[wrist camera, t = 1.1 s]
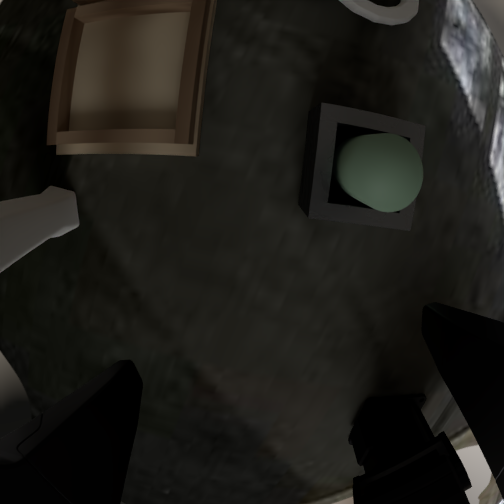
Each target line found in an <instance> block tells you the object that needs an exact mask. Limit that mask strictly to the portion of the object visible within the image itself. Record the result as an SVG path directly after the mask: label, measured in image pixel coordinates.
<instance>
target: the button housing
mask: <svg viewBox="0 0 504 504" xmlns="http://www.w3.org/2000/svg"><path fill="white" fill-rule="evenodd" d="M425 127H426V126H424V125H421V124H417V123H413V122H410V121H406V120H402V119H398V118H394V117H390V116H386V115H382V114H378V113H373V112H369V111H364V110H359V109H355V108H350V107H344V106H339V105H334V104H328V103H320V104H319V105H317V106H316V107H314V108H313V109H311V110H310V111H309V115H308V125H307V135H306V144H305V153H304V162H303V171H302V179H301V187H300V195H299V203H298V205H299V206H300V208H301V209H302V210H303V212H304V213H305V214H306V216H307V217H308V218H312V219H321V220H329V221H337V222H346V223H354V224H361V225H369V226H377V227H384V228H391V229H399V230H406V231H410V230H411V225H412V220H413V215H414V209H415V204H416V198H417V196H416V198H415V199H414V200H413V202H411V203H410V204H409V205H408V206H407V207H405V208H403V209H401V210H399V211H395V212H382V211H378V210H376V209H373V208H372V207H370V206H368V205H366V204H364V203H362V202H361V201H359V200H357V199H355V198H351V197H344V196H336V195H329V189H330V181H331V174H332V166H333V157H334V149H335V140H336V130H341V131H347V132H352V133H358V134H363V135H370V134H381V133H391V134H396V135H399V136H401V137H403V138H405V139H406V140H408V141H409V142H410V143H411V144H412V145H413V146H414V147H415V149H416V150H417V152H418V154H419V156H420V158H421V161H422V156H423V147H424V138H425Z"/></svg>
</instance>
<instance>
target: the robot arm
mask: <svg viewBox="0 0 504 504" xmlns="http://www.w3.org/2000/svg"><path fill="white" fill-rule="evenodd" d="M422 335H423V337H424V339H425V341H426V344H427V346H428V348H429V350H430V352H431V355H432V357H433V359H434V361H435V364H436V366H437V368H438V370H439V372H440V374H441V376H442V378H443V380H444V381H445V383H446V385H447V387H448V388H449V390H450V392H451V394H452V395H453V397H454V399H455V401H456V403H457V404H458V406H459V408H460V410H461V412H462V414H463V416H464V417H465V419H466V421H467V423H468V425H469V427H470V429H471V431H472V433H473V435H474V437H475V439H476V441H477V443H478V445H479V446H480V449H481V450H482V453H483V455H484V457H485V459H486V461H487V463H488V465H489V467H490V469H491V472H492V474H493V476H494V478H495V480H496V483H497V486H498V488H499V490H500V492H501V495H502V497H503V500H504V322H501V321H498V320H495V319H491V318H488V317H484V316H481V315H478V314H474V313H471V312H467V311H464V310H461V309H457V308H454V307H450V306H447V305H444V304H440V303H437V302H434V303H431V304H427V305H425V306H424V307H423V311H422ZM142 389H143V382H142V379H141V377H140V375H139V373H138V371H137V369H136V367H135V365H134V363H133V362H132V361H131V360H120V361H118V362H116V363H115V364H114V365H112V366H111V367H109V368H108V369H106V370H105V371H103V372H102V373H100V374H99V375H98V376H96V377H95V378H93V379H92V380H90V381H89V382H87V383H86V384H84V385H83V386H81V387H80V388H78V389H77V390H76V391H74V392H73V393H71V394H70V395H68V396H67V397H65V398H64V399H62V400H61V401H59V402H58V403H56V404H55V405H53V406H52V407H50V408H49V409H47V410H46V411H44V412H43V413H41V414H40V415H38V416H37V417H35V418H34V419H32V420H31V421H30V422H28V423H26V424H25V425H23V426H22V427H20V428H18V429H16V430H15V431H13V432H12V433H9V434H8V435H6V436H4V437H2V438H1V439H0V504H120V502H121V498H122V493H123V488H124V483H125V478H126V474H127V469H128V465H129V460H130V456H131V451H132V447H133V443H134V438H135V434H136V430H137V425H138V419H139V411H140V404H141V396H142ZM425 401H426V396H425V395H424V394H416V395H405V396H391V397H374V398H369V399H367V400H366V401H365V404H364V406H363V408H362V411H361V413H360V415H359V417H358V418H357V419H356V422H355V424H354V426H353V428H352V430H351V433H350V437H349V439H348V441H349V444H350V445H353V448H354V452H355V455H356V459H357V463H358V465H360V466H364V470H365V474H363V475H361V476H357V477H354V478H353V499H354V504H470V503H469V501H468V498H467V496H466V494H465V491H466V490H467V489H469V488H471V487H472V486H471V482H470V479H469V477H468V474H467V472H466V470H465V468H464V466H463V464H462V462H461V460H460V458H459V456H458V455H457V453H456V451H455V449H454V448H453V446H452V444H451V442H450V441H449V439H448V437H447V436H446V434H445V432H444V431H443V432H441V433H439V434H438V436H436V437H434V435H433V433H432V431H431V429H430V427H429V425H428V423H427V421H426V419H425V417H424V416H423V414H422V412H421V408H422V406H423V404H424V403H425Z"/></svg>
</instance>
